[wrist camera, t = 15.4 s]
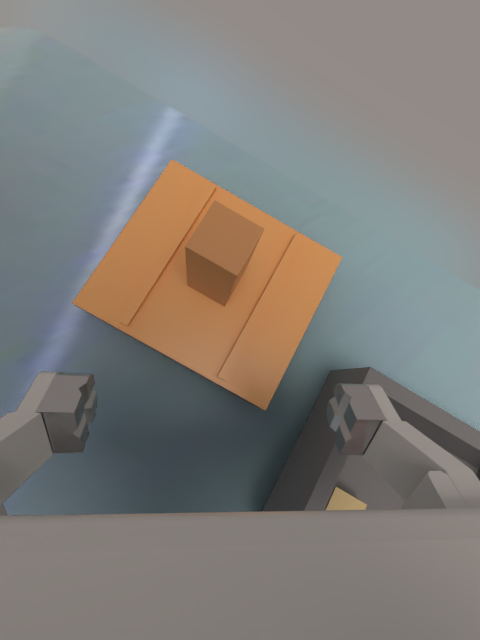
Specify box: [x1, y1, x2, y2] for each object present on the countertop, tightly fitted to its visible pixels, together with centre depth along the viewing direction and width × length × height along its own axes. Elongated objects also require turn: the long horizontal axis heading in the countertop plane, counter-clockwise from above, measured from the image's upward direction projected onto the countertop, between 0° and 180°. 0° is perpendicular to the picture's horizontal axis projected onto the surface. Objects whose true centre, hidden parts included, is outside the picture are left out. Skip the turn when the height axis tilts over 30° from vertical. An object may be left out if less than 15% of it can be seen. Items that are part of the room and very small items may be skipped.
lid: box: [72, 160, 342, 411], centre depth 22 cm, size 15×13×10 cm
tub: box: [262, 367, 480, 511], centre depth 22 cm, size 14×12×6 cm
